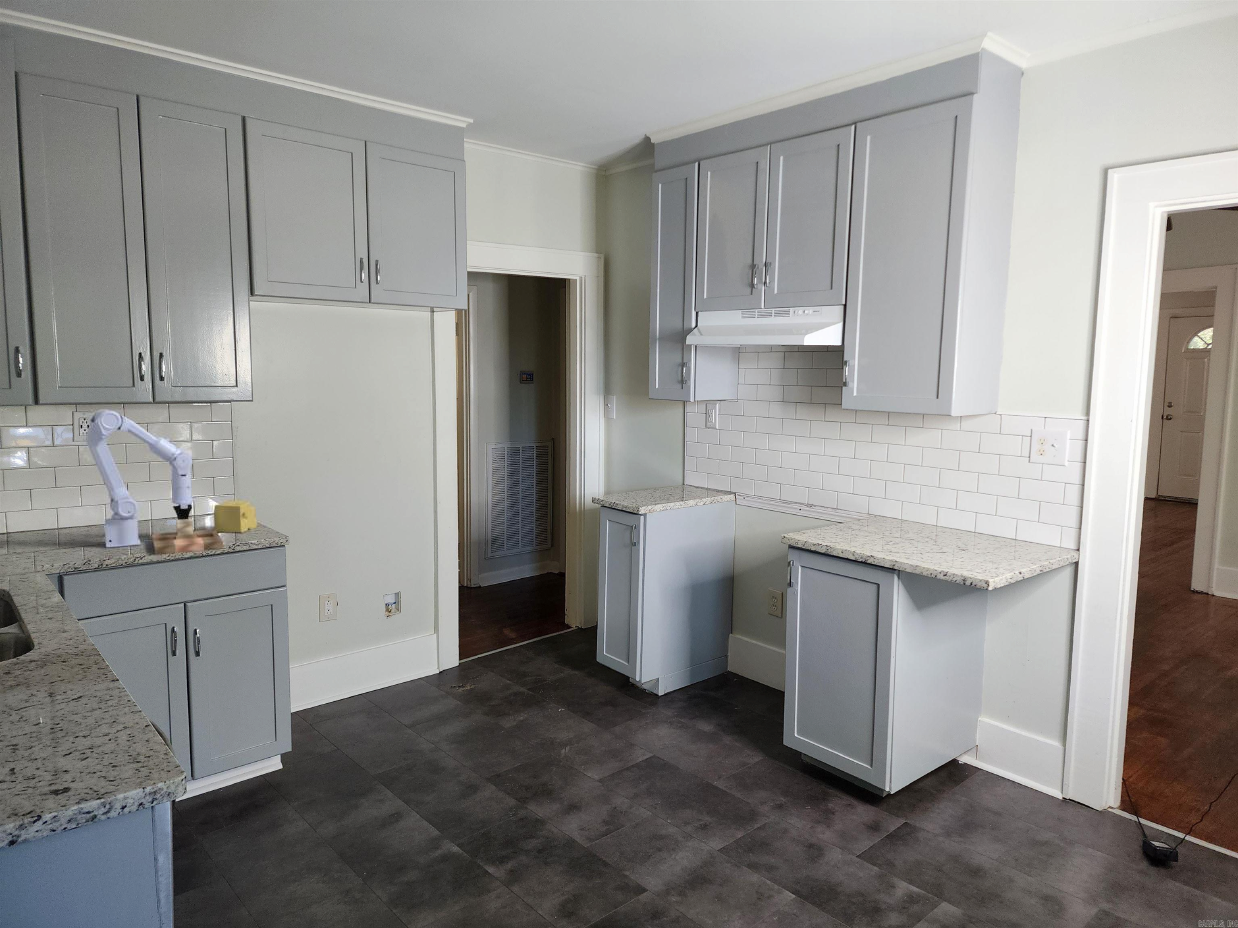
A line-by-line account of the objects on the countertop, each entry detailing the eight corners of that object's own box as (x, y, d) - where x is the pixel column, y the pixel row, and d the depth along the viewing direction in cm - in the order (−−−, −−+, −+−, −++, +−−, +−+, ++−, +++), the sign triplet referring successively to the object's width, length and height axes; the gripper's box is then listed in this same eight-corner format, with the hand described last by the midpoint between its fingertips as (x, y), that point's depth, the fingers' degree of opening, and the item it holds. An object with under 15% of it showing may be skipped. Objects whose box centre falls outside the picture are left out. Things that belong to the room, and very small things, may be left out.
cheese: (257, 527, 298) (256, 500, 297) (241, 533, 288) (240, 505, 286) (230, 526, 299) (229, 499, 298) (213, 532, 289) (212, 504, 287)
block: (177, 535, 270) (177, 522, 270) (176, 533, 274) (176, 519, 273) (193, 534, 272) (192, 521, 272) (191, 531, 276) (191, 518, 276)
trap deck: (155, 554, 253) (155, 546, 253) (152, 541, 272) (151, 534, 272) (223, 548, 263) (222, 541, 263) (215, 536, 282) (215, 529, 282)
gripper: (197, 489, 273) (198, 529, 274) (192, 483, 285) (194, 521, 286) (173, 490, 269) (174, 530, 270) (169, 484, 281) (171, 523, 283)
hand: (183, 526), depth 278 cm, fingers closed
